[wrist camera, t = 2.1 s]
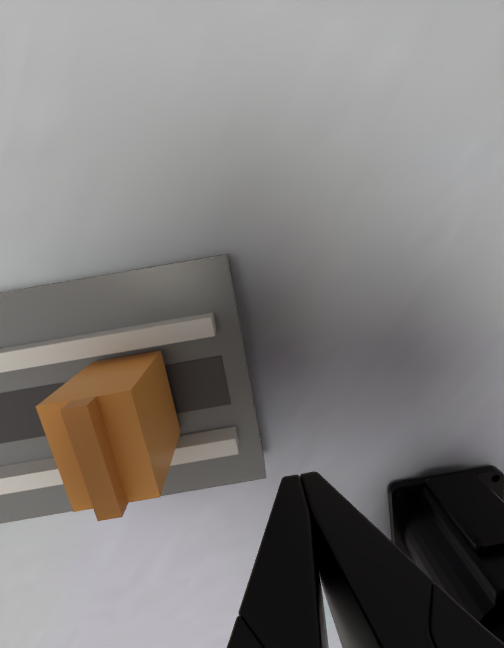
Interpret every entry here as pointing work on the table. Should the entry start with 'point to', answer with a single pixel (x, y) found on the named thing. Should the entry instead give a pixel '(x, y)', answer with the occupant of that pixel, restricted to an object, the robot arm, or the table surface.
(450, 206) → the table surface
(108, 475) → the fader cap
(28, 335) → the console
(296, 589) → the robot arm
